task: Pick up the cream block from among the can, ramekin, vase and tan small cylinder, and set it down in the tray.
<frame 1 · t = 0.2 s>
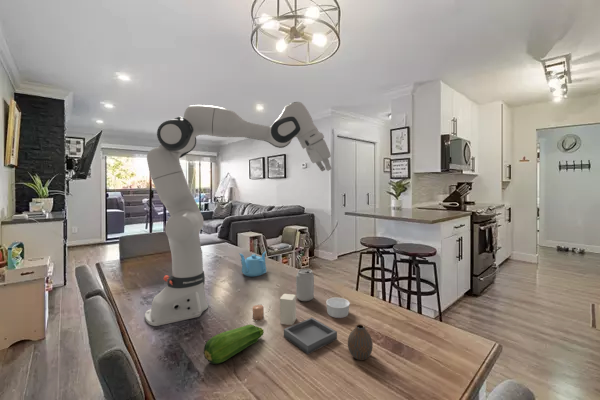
hand: (326, 170, 117), 54 cm above the table, tool tilted 30°, fingers open, 8 cm apart
teapot: (252, 273, 153), on the table
tray: (310, 337, 90), on the table
cream block: (288, 321, 101), on the table
vase: (359, 356, 81), on the table
can: (305, 298, 120), on the table
tan small cylinder: (258, 317, 104), on the table
ramekin: (337, 313, 107), on the table
vegetable: (236, 351, 84), on the table
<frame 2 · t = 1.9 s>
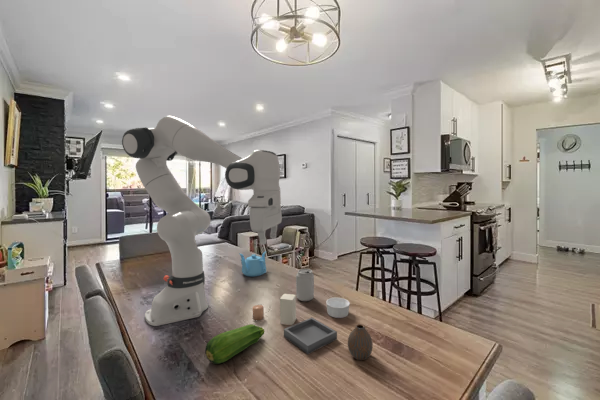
hand: (268, 240, 95), 30 cm above the table, tool pointing down, fingers open, 8 cm apart
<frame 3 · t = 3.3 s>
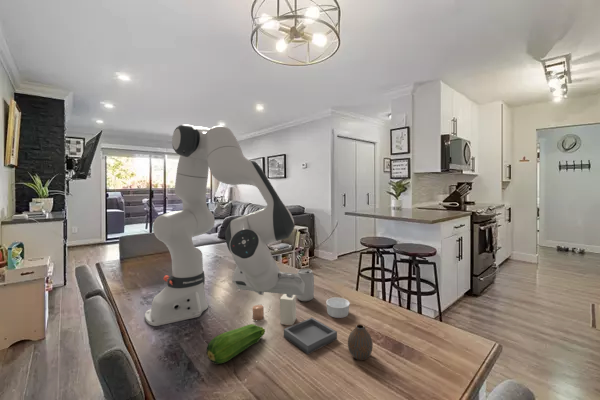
hand: (276, 293, 88), 15 cm above the table, tool tilted 45°, fingers open, 8 cm apart
nothing on the table moved.
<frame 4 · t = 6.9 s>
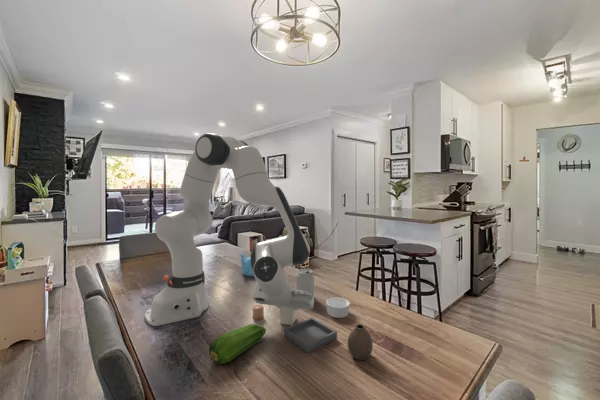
hand: (288, 307, 101), 5 cm above the table, tool tilted 45°, fingers closed on cream block, 4 cm apart
cream block: (288, 321, 101), on the table, touching gripper
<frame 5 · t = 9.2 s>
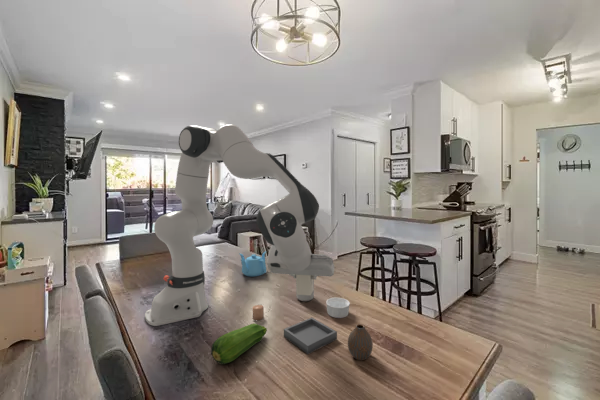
hand: (305, 276, 93), 19 cm above the table, tool tilted 45°, fingers closed on cream block, 4 cm apart
cream block: (305, 292, 92), point 14 cm above the table, touching gripper
when the fingers open (7 cm above the table, at t = 11.8 s): cream block drops 1 cm, resting on tray.
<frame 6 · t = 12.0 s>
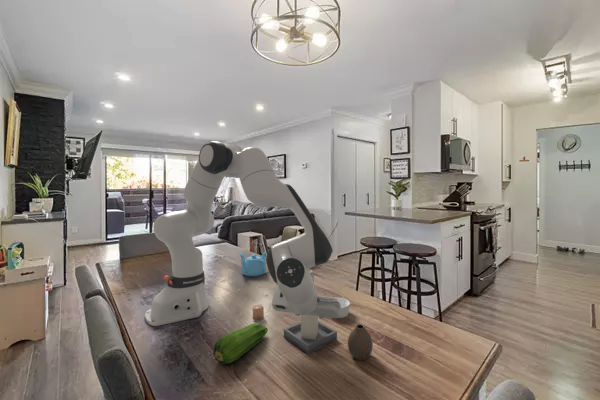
hand: (310, 314, 90), 7 cm above the table, tool tilted 45°, fingers open, 6 cm apart
cream block: (309, 334, 90), point 1 cm above the table, touching tray
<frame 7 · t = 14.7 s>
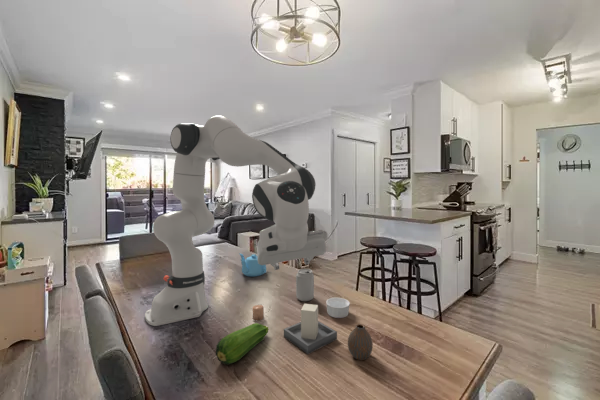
hand: (291, 265, 87), 24 cm above the table, tool tilted 35°, fingers open, 8 cm apart
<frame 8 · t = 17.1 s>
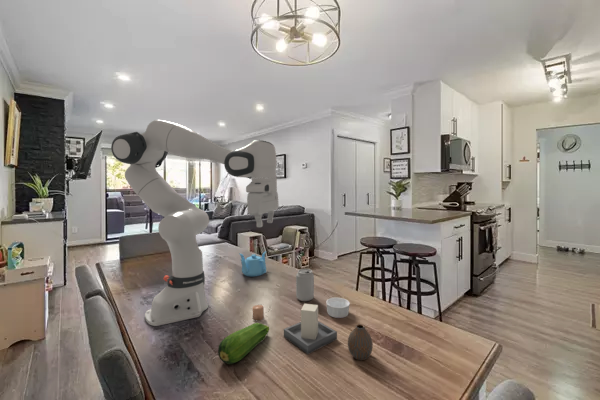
hand: (265, 224, 102), 34 cm above the table, tool pointing down, fingers open, 8 cm apart
at the end: cream block inside the target area on the tray (0.1 cm from its centre), point 1.0 cm above the tray's base; cream block tilted 0°; the gripper is holding nothing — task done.
